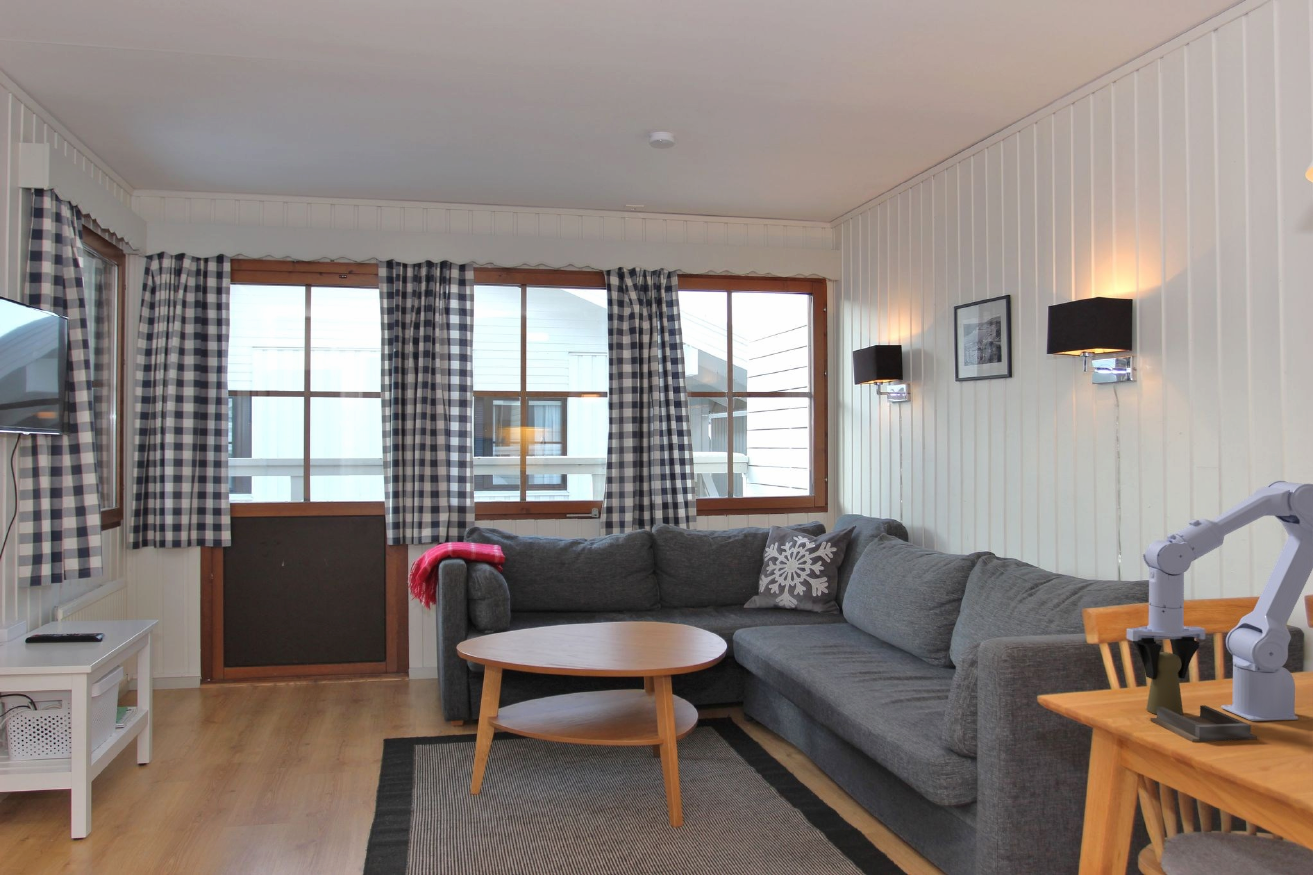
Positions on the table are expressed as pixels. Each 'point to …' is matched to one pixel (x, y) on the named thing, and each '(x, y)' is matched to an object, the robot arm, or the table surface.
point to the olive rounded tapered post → (1166, 685)
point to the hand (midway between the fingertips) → (1165, 677)
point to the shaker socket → (1204, 725)
